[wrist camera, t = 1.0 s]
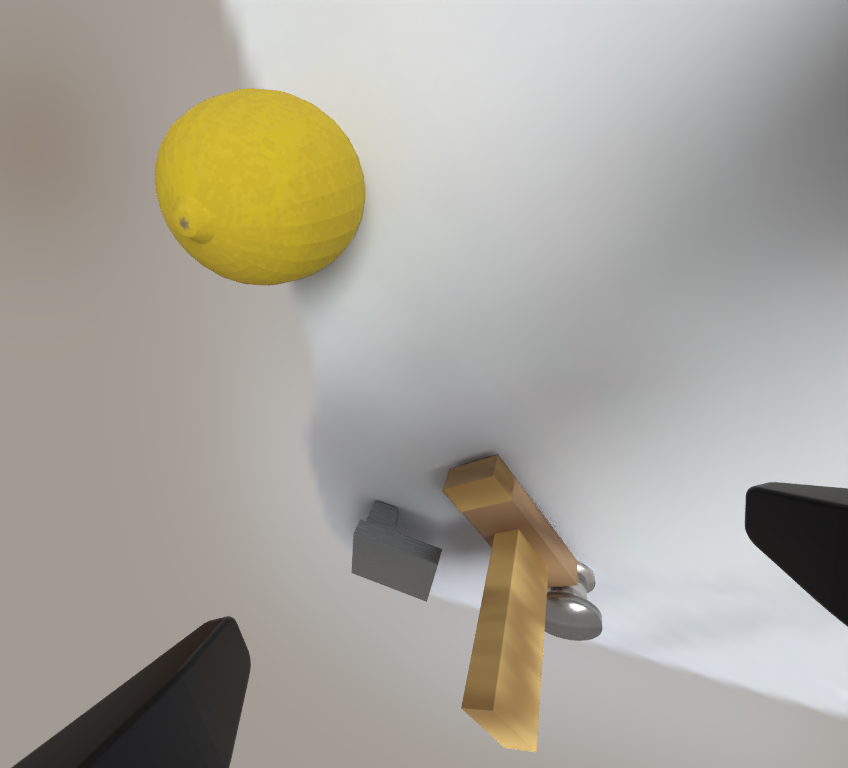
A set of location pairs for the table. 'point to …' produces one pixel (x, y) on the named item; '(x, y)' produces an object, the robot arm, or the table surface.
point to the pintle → (573, 609)
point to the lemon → (260, 186)
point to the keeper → (393, 554)
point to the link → (509, 599)
